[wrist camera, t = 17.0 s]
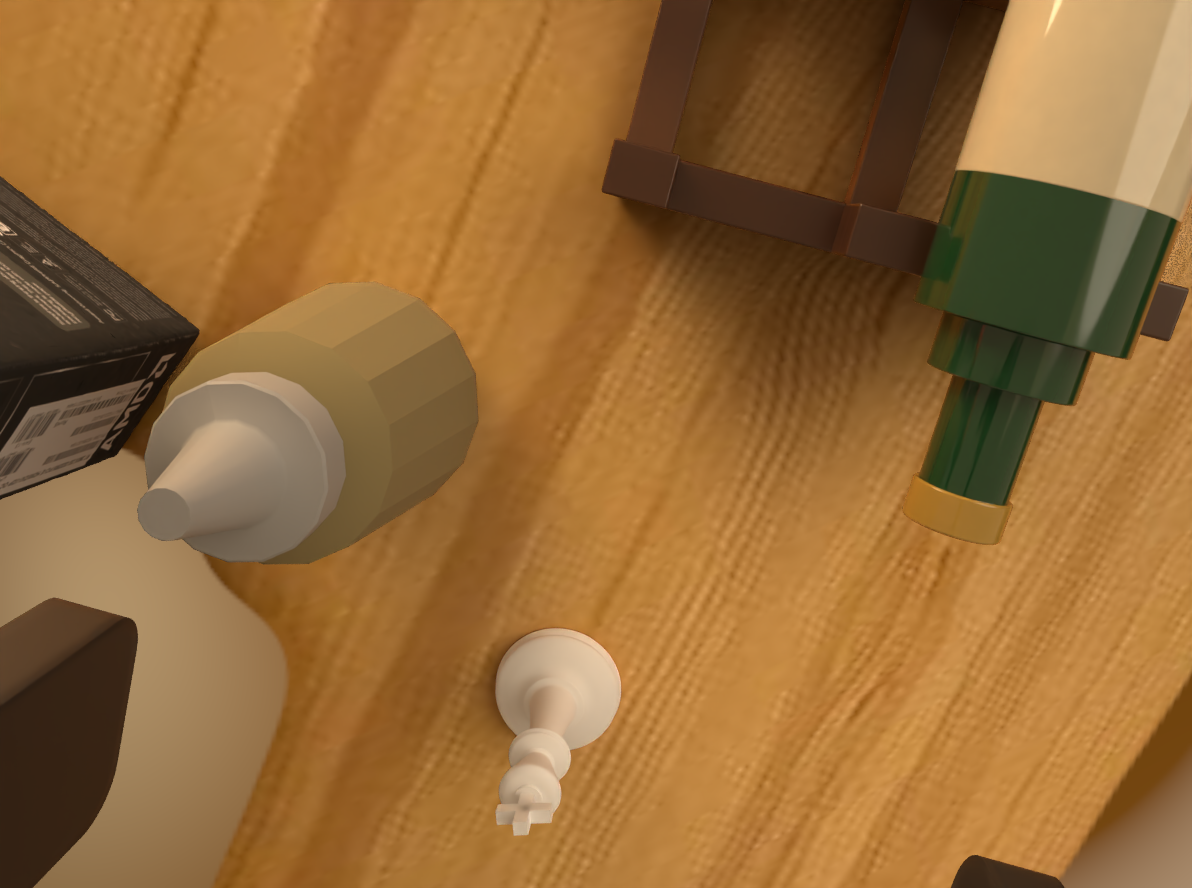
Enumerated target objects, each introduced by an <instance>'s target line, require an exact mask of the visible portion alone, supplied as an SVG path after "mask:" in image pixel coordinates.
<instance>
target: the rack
mask: <svg viewBox="0 0 1192 888" xmlns="http://www.w3.org/2000/svg"><path fill="white" fill-rule="evenodd" d="M963 1H966V2H970V3H974V4H978V5H982V6H986V7H990V8H994V9H998V10H1001V11H1005V12H1006V9H1007V6H1008V2H1009V0H905V2H904V6H903V9H902V12H901V16H900V19H899V22H898V26H897V29H896V32H895V35H894V39H893V42H892V45H891V49H890V52H889V55H888V59H887V62H886V65H885V69H884V72H883V75H882V79H881V82H880V85H879V88H878V92H877V95H876V98H875V102H874V105H873V108H872V112H871V115H870V118H869V122H868V125H867V128H866V131H865V135H864V138H863V141H862V145H861V148H860V151H859V155H858V158H857V161H856V165H855V168H854V171H853V175H852V178H851V181H850V184H849V188H848V191H847V194H846V198H845V201H844V203H843V202H839V201H835V200H831V199H827V198H824V197H820V196H816V195H812V194H808V193H805V192H801V191H797V190H793V189H789V188H786V187H782V186H778V185H774V184H770V183H767V182H763V181H759V180H755V179H751V178H747V177H744V176H740V175H736V174H732V173H728V172H725V171H721V170H717V169H713V168H709V167H706V166H702V165H698V164H694V163H690V162H687V161H683V160H680V155H678V154H674V153H673V151H674V147H675V143H676V139H677V136H678V132H679V128H680V124H681V121H682V117H683V113H684V109H685V105H686V102H687V98H688V94H689V90H690V86H691V83H692V79H693V75H694V71H695V67H696V64H697V60H698V56H699V52H700V49H701V45H702V41H703V37H704V33H705V30H706V26H707V22H708V18H709V14H710V11H711V7H712V3H713V0H662V1H661V5H660V9H659V13H658V17H657V21H656V25H655V29H654V33H653V36H652V40H651V44H650V48H649V52H648V56H647V60H646V64H645V68H644V72H643V76H642V80H641V84H640V88H639V92H638V96H637V100H636V104H635V107H634V111H633V115H632V119H631V123H630V127H629V131H628V135H627V139H626V141H625V140H621V139H615V140H614V143H613V146H612V150H611V154H610V158H609V162H608V166H607V170H606V174H605V178H604V182H603V186H602V192H603V193H606V194H610V195H614V196H617V197H621V198H625V199H629V200H633V201H636V202H640V203H644V204H648V205H652V206H655V207H659V208H663V209H667V210H671V211H675V212H679V213H682V214H686V215H690V216H694V217H698V218H701V219H705V220H709V221H713V222H716V223H720V224H724V225H728V226H732V227H735V228H739V229H743V230H747V231H751V232H754V233H758V234H762V235H766V236H770V237H773V238H777V239H781V240H785V241H788V242H792V243H796V244H800V245H804V246H807V247H811V248H815V249H819V250H823V251H826V252H830V253H834V254H838V255H841V256H845V257H849V258H852V259H856V260H860V261H864V262H868V263H871V264H875V265H879V266H883V267H887V268H890V269H894V270H898V271H902V272H905V273H909V274H913V275H917V276H921V275H922V271H923V268H924V265H925V262H926V259H927V256H928V253H929V250H930V247H931V244H932V240H933V237H934V234H935V231H936V228H937V225H938V223H937V222H933V221H930V220H926V219H922V218H918V217H914V216H911V215H907V214H903V213H899V212H897V210H898V207H899V204H900V201H901V198H902V194H903V191H904V188H905V185H906V182H907V178H908V175H909V172H910V169H911V166H912V162H913V159H914V156H915V153H916V150H917V146H918V143H919V140H920V137H921V134H922V131H923V127H924V124H925V121H926V118H927V115H928V111H929V108H930V105H931V102H932V99H933V95H934V92H935V89H936V86H937V83H938V80H939V76H940V73H941V70H942V67H943V64H944V60H945V57H946V54H947V51H948V48H949V44H950V41H951V38H952V35H953V32H954V28H955V25H956V22H957V19H958V16H959V13H960V9H961V6H962V3H963ZM1188 291H1189V290H1188V289H1187V288H1185V287H1181V286H1177V285H1173V284H1170V283H1166V282H1162V281H1160V283H1159V286H1158V289H1157V291H1156V294H1155V297H1154V299H1153V302H1152V305H1151V307H1150V310H1149V313H1148V315H1147V318H1146V321H1145V323H1144V326H1143V329H1142V331H1141V334H1140V335H1144V336H1148V337H1152V338H1156V339H1159V340H1163V341H1169V340H1170V339H1171V336H1172V334H1173V331H1174V328H1175V326H1176V323H1177V321H1178V318H1179V315H1180V313H1181V310H1182V307H1183V305H1184V302H1185V300H1186V297H1187V294H1188Z"/></svg>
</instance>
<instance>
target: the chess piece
mask: <svg viewBox="0 0 1192 888" xmlns="http://www.w3.org/2000/svg"><path fill="white" fill-rule="evenodd" d="M495 692H496V701H497V705H498V709H499V711H500V714H501V716H502V718H503V719H504V721H505V723H506V724H507V725H508V727H509V728H510V729H511V730H512V731H513V732H514V733H515V734H516V735H517V736H516V737H515V738H514V740H513V741H512V743H511V745H510V749H509V761H510V765H511V768H510V769H509V770H508V771H507V772H506V773H505V775H504V776H503V778H502V780H501V782H500V785H499V798H500V801H501V803H502V804H498V806H497V809H496V820H497V825H503V824H513V832H514V835H528V833H529V829H530V825H531V824H533V823H551V821H552V817H553V813H554V812H555V811H556V809H557V808H558V806H559V803H560V800H561V787H560V783H559V780H560V779H561V778H562V777H563V776H564V775H565V774H566V772H567V771H568V769H569V766H570V762H571V754H570V750H573V749H577V748H580V747H583V746H585V745H587V744H589V743H591V742H593V741H594V740H596V739H597V738H598V737H599V736H601V735H602V734H603V733H604V732H605V730H606V729H607V728H608V727H609V725H610V723H611V722H612V720H613V718H614V716H615V714H616V712H617V709H618V707H619V703H620V698H621V681H620V676H619V672H618V670H617V667H616V665H615V663H614V661H613V659H612V658H611V656H610V655H609V654H608V652H607V651H606V650H605V649H604V648H603V647H602V646H601V645H600V644H599V643H597V642H596V641H595V640H593V639H592V638H590V637H588V636H586V635H584V634H582V633H579V632H576V631H573V630H569V629H562V628H550V629H543V630H539V631H535V632H533V633H530V634H528V635H526V636H524V637H523V638H521V639H519V640H518V641H517V642H516V643H514V644H513V645H512V646H511V647H510V648H509V650H508V651H507V652H506V654H505V655H504V657H503V658H502V660H501V663H500V665H499V668H498V671H497V676H496V689H495Z"/></svg>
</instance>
